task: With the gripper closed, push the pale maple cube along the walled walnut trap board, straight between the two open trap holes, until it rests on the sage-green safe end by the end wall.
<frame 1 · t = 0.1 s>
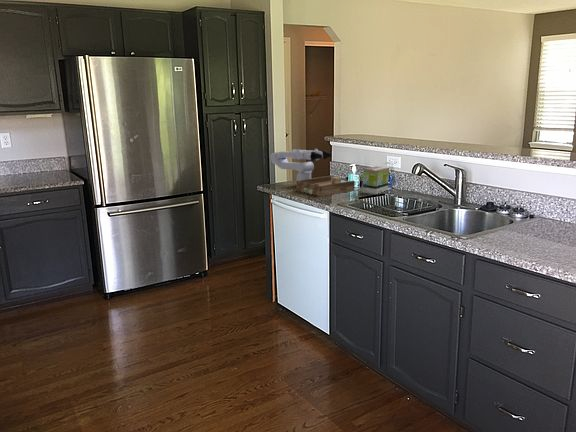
hand: (326, 155, 309), 22 cm above the worktop, tool horizontal, fingers open, 7 cm apart
trap board: (325, 190, 315), on the worktop
maple cube: (336, 183, 320), point 3 cm above the worktop, touching trap board
tea box: (375, 192, 311), on the worktop
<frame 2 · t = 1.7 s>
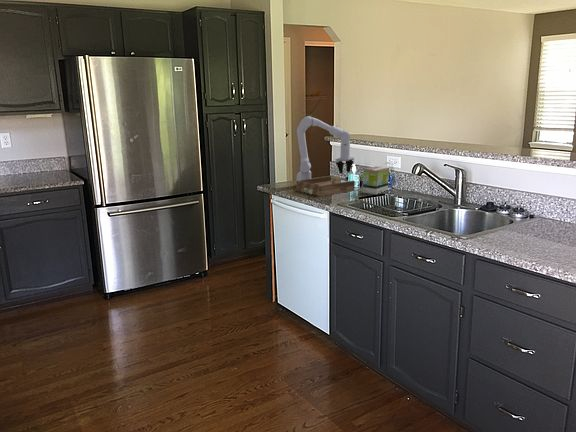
hand: (344, 172, 323), 9 cm above the worktop, tool pointing down, fingers open, 6 cm apart
nothing on the worktop moved.
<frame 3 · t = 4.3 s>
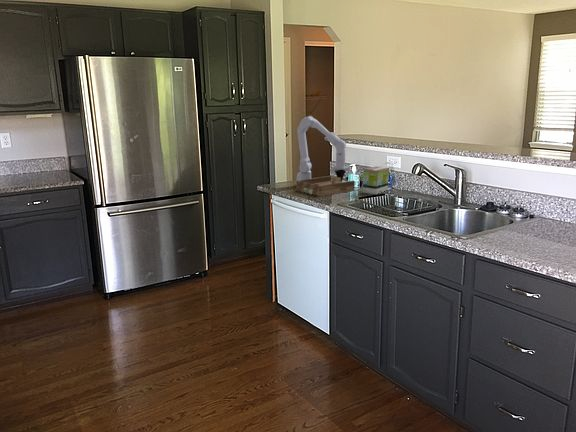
hand: (340, 181, 322), 4 cm above the worktop, tool pointing down, fingers closed
maple cube: (336, 183, 320), point 3 cm above the worktop, touching gripper, trap board
everything else where it was.
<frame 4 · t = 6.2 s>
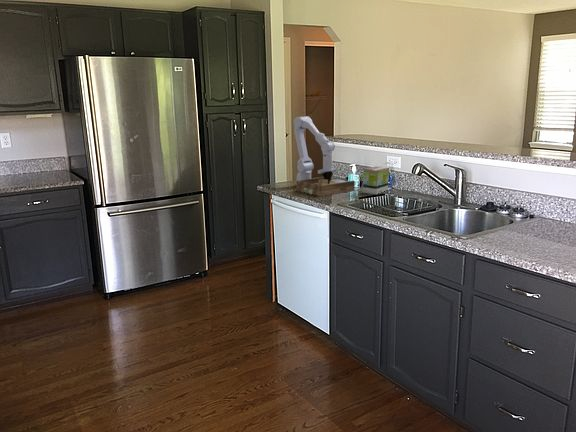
hand: (327, 183, 315), 4 cm above the worktop, tool pointing down, fingers closed
maple cube: (323, 186, 313), point 3 cm above the worktop, touching gripper
everything else where it was.
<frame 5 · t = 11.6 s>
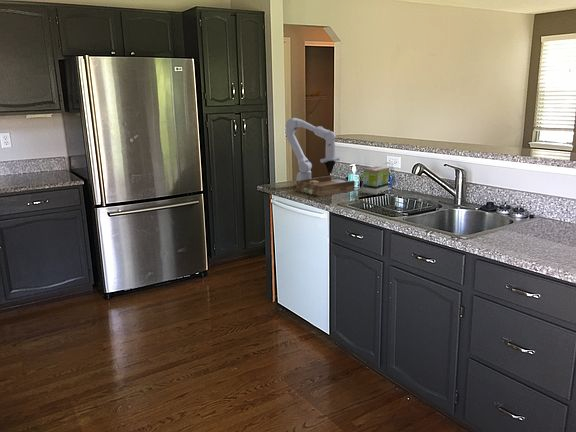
hand: (329, 172, 322), 9 cm above the worktop, tool pointing down, fingers closed
maple cube: (314, 187, 309), point 3 cm above the worktop, touching trap board
everything else where it was.
at the end: maple cube inside the target area on the trap board (0.3 cm from its centre), point 3.0 cm above the trap board's base; maple cube tilted 0° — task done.
